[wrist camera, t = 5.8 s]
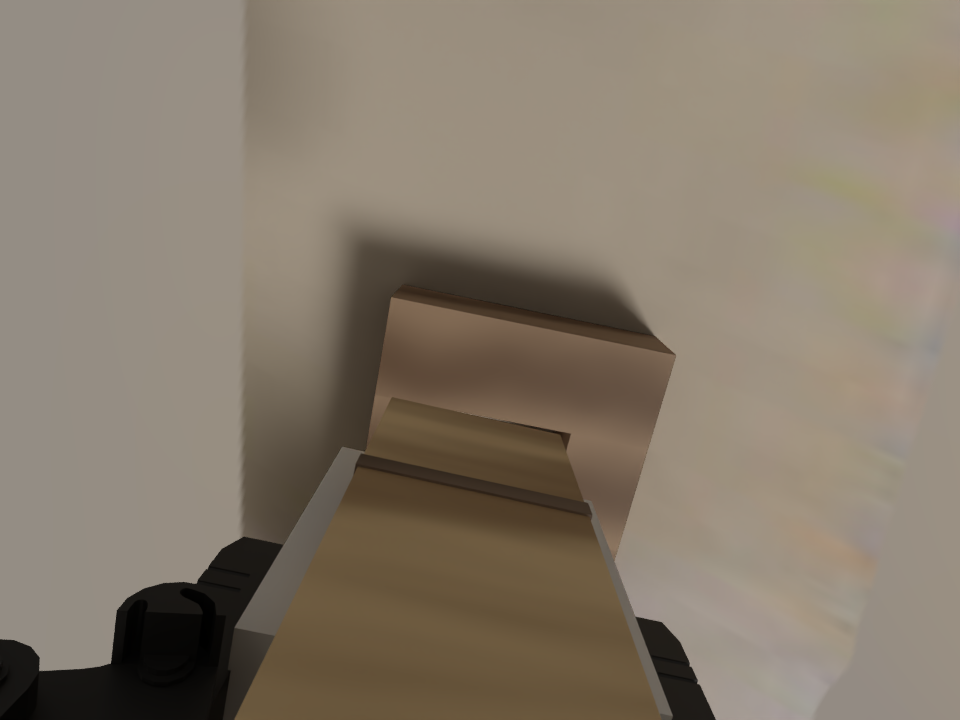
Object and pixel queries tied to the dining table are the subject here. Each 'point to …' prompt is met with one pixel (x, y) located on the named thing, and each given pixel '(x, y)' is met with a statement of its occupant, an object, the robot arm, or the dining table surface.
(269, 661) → the peg
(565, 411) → the board
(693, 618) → the dining table surface
